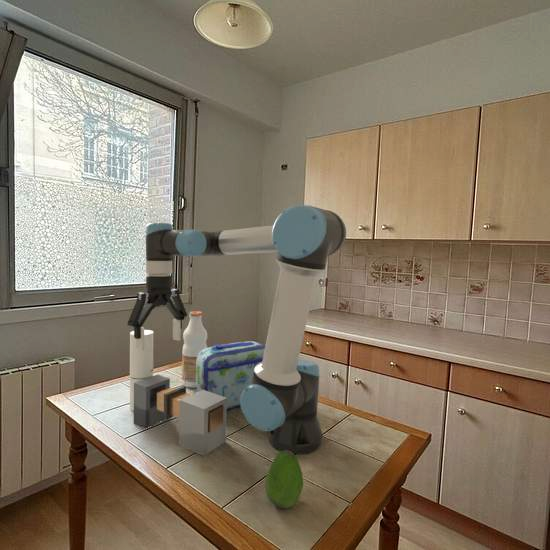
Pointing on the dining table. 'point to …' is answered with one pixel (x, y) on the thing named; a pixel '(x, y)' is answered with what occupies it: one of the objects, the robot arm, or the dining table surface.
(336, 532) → the dining table surface
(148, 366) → the cylindrical container
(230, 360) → the lunch box
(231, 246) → the robot arm
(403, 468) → the dining table surface
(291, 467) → the avocado
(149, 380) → the socket
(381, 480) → the dining table surface
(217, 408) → the square peg
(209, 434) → the sleeve
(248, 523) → the dining table surface
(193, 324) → the fruit juice
